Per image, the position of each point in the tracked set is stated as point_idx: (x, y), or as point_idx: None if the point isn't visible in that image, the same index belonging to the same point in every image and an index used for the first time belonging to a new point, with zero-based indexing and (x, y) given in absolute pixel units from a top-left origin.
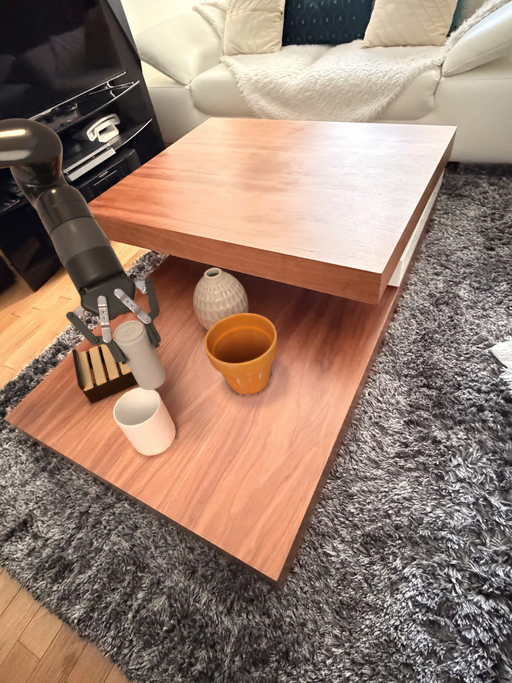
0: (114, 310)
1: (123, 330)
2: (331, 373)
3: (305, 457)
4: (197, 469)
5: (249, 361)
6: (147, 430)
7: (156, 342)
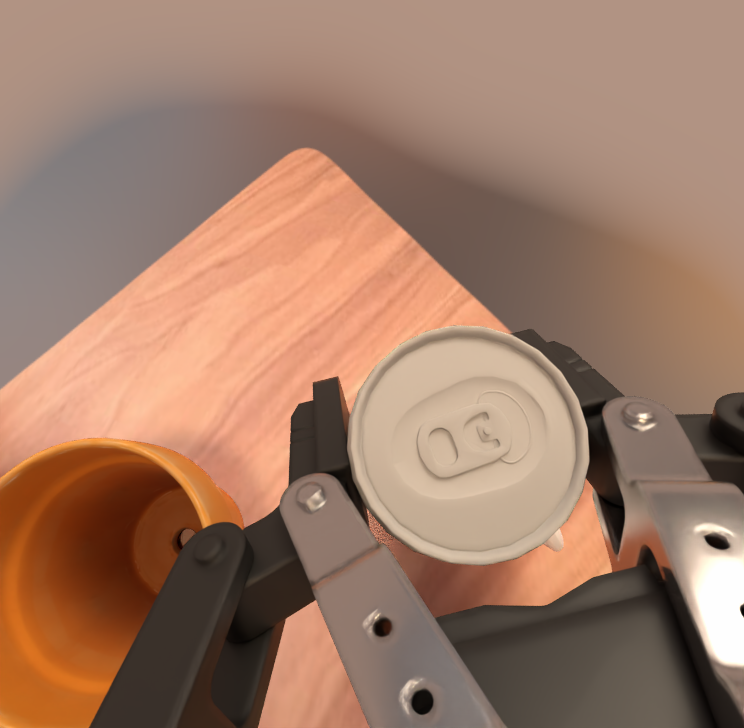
0: (600, 642)
1: (509, 468)
2: (2, 461)
3: (172, 286)
4: (381, 341)
5: (101, 442)
6: None
7: (321, 387)
